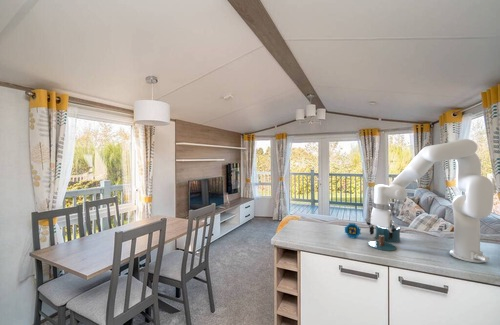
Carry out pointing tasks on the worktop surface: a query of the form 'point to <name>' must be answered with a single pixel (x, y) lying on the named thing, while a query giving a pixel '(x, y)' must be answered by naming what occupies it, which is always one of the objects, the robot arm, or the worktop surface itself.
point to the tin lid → (382, 244)
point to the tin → (386, 233)
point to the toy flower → (352, 230)
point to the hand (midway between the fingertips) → (380, 236)
